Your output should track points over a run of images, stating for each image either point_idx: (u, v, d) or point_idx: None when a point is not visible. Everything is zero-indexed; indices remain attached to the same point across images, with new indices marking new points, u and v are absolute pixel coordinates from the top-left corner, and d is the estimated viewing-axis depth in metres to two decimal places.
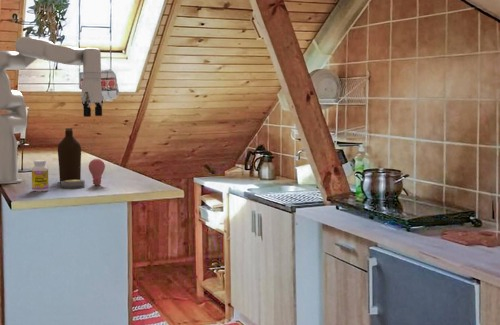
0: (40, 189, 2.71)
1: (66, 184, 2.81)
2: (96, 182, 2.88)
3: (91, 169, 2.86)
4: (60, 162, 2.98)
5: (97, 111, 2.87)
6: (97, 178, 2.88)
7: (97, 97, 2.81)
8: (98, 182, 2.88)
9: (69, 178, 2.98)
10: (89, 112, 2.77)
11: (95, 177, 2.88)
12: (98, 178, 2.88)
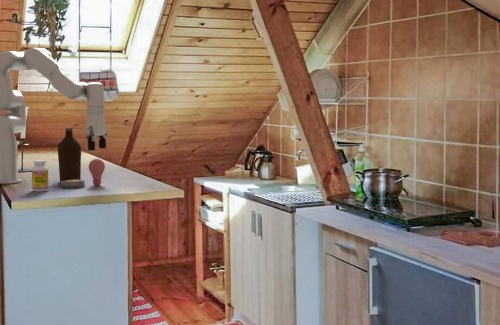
0: (40, 189, 2.71)
1: (66, 184, 2.81)
2: (96, 182, 2.88)
3: (91, 169, 2.86)
4: (60, 162, 2.98)
5: (101, 144, 2.92)
6: (97, 178, 2.88)
7: (101, 130, 2.87)
8: (98, 182, 2.88)
9: (69, 178, 2.98)
10: (93, 146, 2.83)
11: (95, 177, 2.88)
12: (98, 178, 2.88)
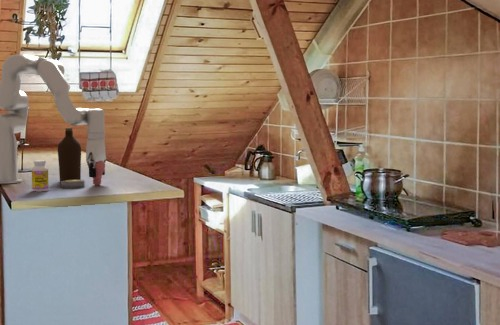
0: (40, 189, 2.71)
1: (66, 184, 2.81)
2: (96, 182, 2.88)
3: None
4: (60, 162, 2.98)
5: None
6: (97, 178, 2.88)
7: (101, 156, 2.88)
8: (98, 182, 2.88)
9: (69, 178, 2.98)
10: (94, 173, 2.85)
11: (95, 177, 2.88)
12: (98, 178, 2.88)
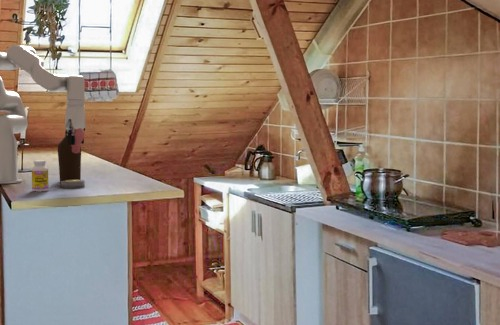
0: (40, 189, 2.71)
1: (66, 184, 2.81)
2: (75, 150, 2.83)
3: None
4: (60, 162, 2.98)
5: None
6: (76, 146, 2.83)
7: (80, 123, 2.83)
8: (77, 150, 2.83)
9: (69, 178, 2.98)
10: (73, 140, 2.80)
11: (74, 145, 2.83)
12: (77, 146, 2.83)
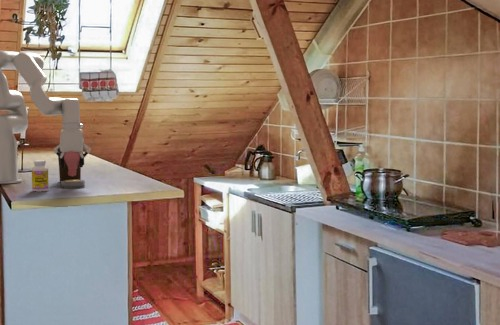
0: (40, 189, 2.71)
1: (66, 184, 2.81)
2: (68, 173, 2.84)
3: None
4: (60, 162, 2.98)
5: None
6: None
7: (71, 147, 2.81)
8: (69, 173, 2.83)
9: (69, 178, 2.98)
10: (62, 163, 2.83)
11: (68, 168, 2.84)
12: (69, 169, 2.83)
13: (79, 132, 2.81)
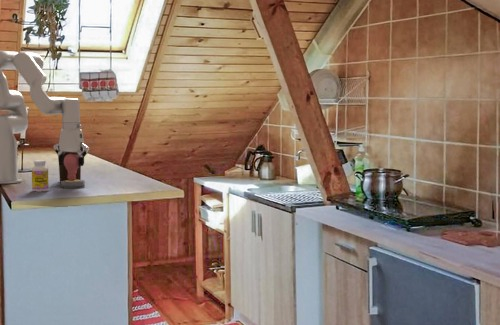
0: (40, 189, 2.71)
1: (66, 184, 2.81)
2: None
3: None
4: None
5: None
6: None
7: (68, 146, 2.82)
8: (68, 177, 2.84)
9: None
10: None
11: None
12: (68, 173, 2.84)
13: (76, 132, 2.80)
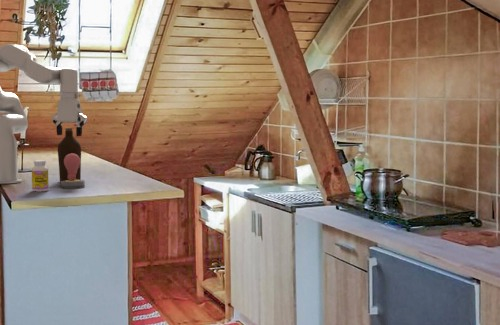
0: (40, 189, 2.71)
1: (66, 184, 2.81)
2: None
3: None
4: (60, 162, 2.98)
5: None
6: None
7: (66, 116, 2.81)
8: (68, 177, 2.84)
9: None
10: None
11: None
12: (68, 173, 2.84)
13: (73, 102, 2.80)
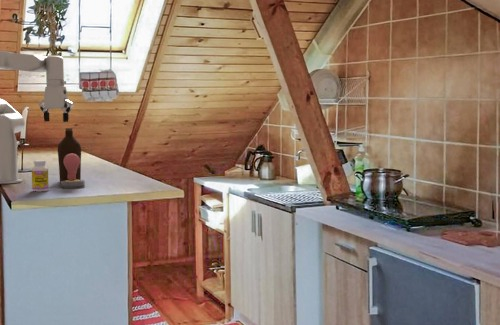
0: (40, 189, 2.71)
1: (66, 184, 2.81)
2: None
3: None
4: (60, 162, 2.98)
5: None
6: None
7: (53, 103, 2.89)
8: (68, 177, 2.84)
9: None
10: None
11: None
12: None
13: (60, 88, 2.88)
